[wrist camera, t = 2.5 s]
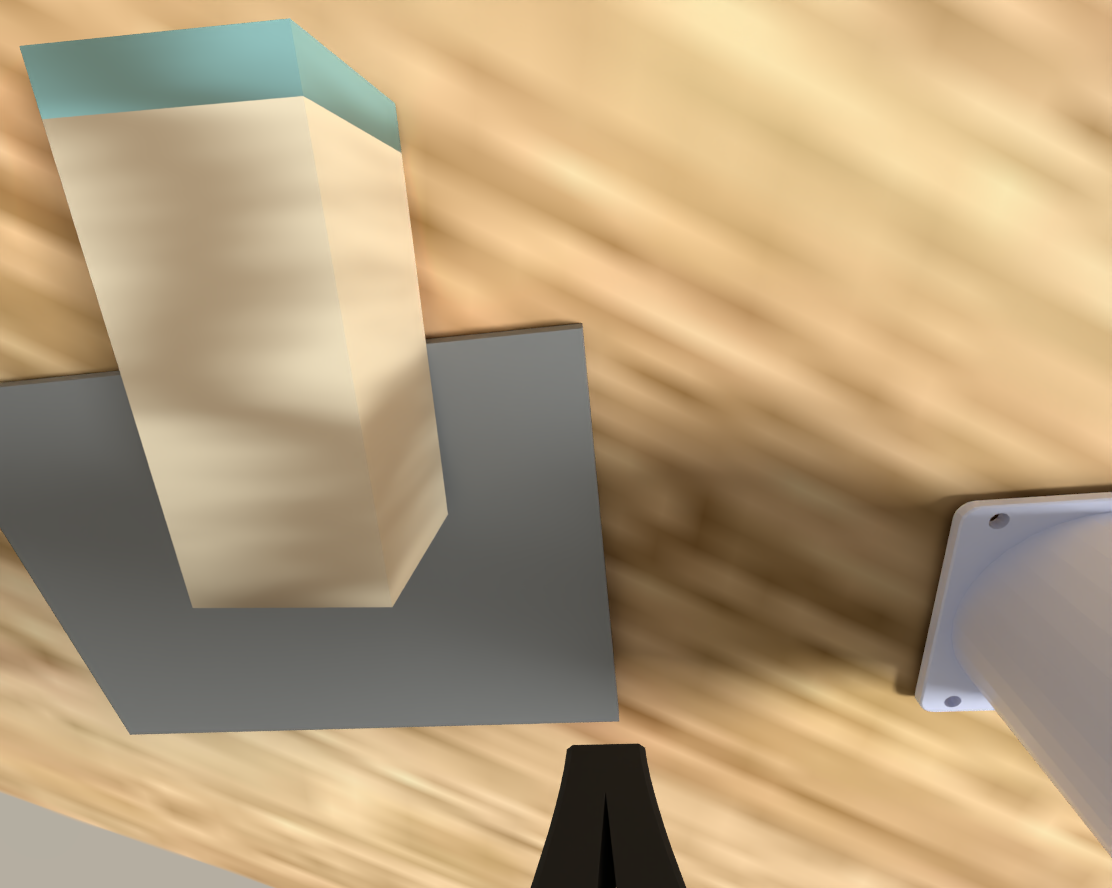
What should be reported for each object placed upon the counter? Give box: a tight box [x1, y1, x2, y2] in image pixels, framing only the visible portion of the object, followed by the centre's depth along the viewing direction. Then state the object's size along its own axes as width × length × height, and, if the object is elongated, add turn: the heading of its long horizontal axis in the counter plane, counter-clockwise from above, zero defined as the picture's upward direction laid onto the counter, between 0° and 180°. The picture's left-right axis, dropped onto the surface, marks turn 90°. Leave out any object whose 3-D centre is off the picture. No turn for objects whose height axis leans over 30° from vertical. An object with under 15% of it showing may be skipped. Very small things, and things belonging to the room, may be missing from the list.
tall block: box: [20, 19, 448, 608], centre depth 12 cm, size 4×4×10 cm
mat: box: [0, 323, 619, 735], centre depth 17 cm, size 19×14×1 cm
